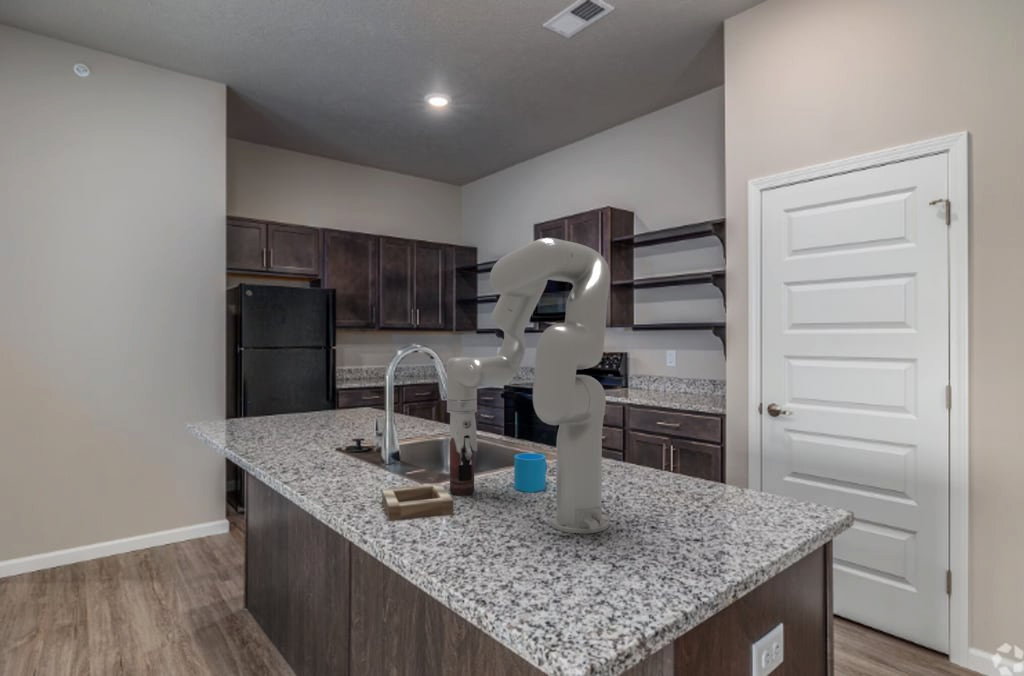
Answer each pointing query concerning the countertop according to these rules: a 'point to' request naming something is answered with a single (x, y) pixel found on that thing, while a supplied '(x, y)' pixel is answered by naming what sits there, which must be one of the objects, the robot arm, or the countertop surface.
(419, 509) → the socket block
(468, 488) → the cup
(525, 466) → the mug
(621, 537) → the countertop surface
